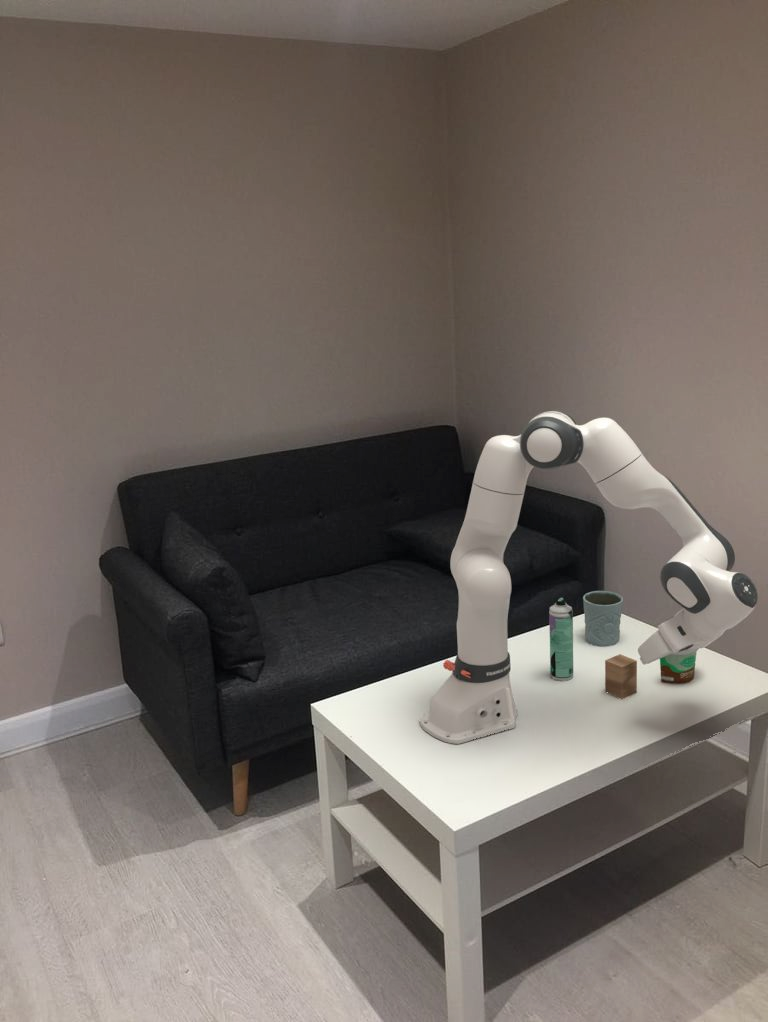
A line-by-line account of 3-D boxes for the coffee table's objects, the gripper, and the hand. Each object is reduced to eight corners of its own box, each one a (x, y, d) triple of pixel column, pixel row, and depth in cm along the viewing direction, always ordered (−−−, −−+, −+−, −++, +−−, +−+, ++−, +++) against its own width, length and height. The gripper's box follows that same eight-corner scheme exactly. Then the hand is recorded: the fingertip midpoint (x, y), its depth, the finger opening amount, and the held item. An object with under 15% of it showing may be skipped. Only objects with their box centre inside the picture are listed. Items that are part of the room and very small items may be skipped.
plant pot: (592, 630, 248) (592, 588, 245) (628, 636, 242) (628, 594, 239) (577, 643, 240) (576, 600, 237) (614, 651, 234) (614, 607, 231)
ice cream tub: (680, 691, 211) (681, 651, 208) (657, 683, 215) (658, 644, 213) (709, 673, 218) (710, 634, 216) (686, 666, 223) (687, 628, 220)
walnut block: (621, 699, 209) (621, 667, 207) (605, 691, 213) (605, 660, 211) (636, 692, 212) (636, 660, 210) (620, 685, 216) (620, 654, 214)
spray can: (573, 671, 224) (572, 594, 219) (573, 681, 219) (572, 603, 214) (550, 670, 225) (549, 594, 220) (550, 680, 220) (548, 603, 215)
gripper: (719, 600, 197) (681, 629, 207) (655, 625, 186) (618, 655, 196) (736, 625, 194) (697, 653, 205) (673, 652, 183) (634, 681, 194)
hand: (658, 654), depth 200 cm, fingers open, 8 cm apart
